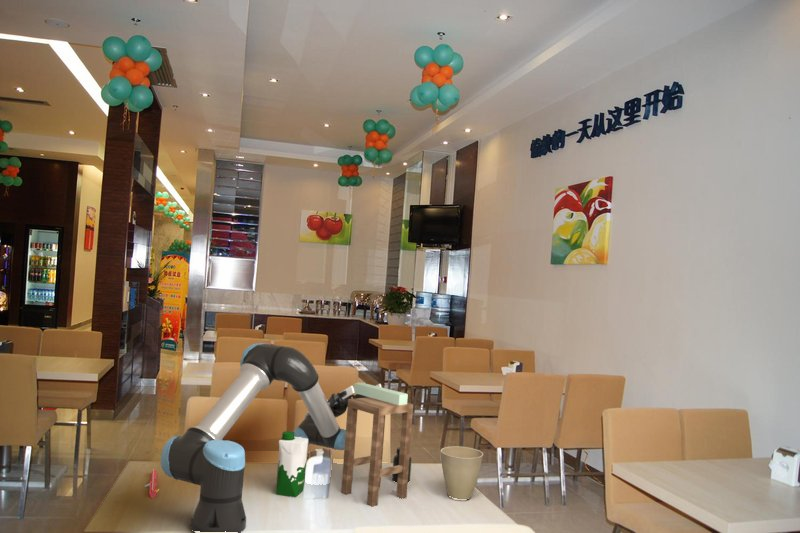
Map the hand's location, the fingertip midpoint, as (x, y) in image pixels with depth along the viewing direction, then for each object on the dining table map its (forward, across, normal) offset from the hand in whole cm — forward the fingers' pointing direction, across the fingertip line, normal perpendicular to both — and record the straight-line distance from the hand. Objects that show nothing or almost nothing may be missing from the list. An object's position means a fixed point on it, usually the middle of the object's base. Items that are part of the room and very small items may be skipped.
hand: (367, 388), depth 222 cm
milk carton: (-22, -27, +28) cm, 44 cm away
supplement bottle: (-12, +15, +33) cm, 38 cm away
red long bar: (-48, -61, +13) cm, 79 cm away
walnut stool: (-7, -4, +36) cm, 37 cm away
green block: (+5, 0, +6) cm, 7 cm away
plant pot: (+9, +20, +45) cm, 50 cm away
